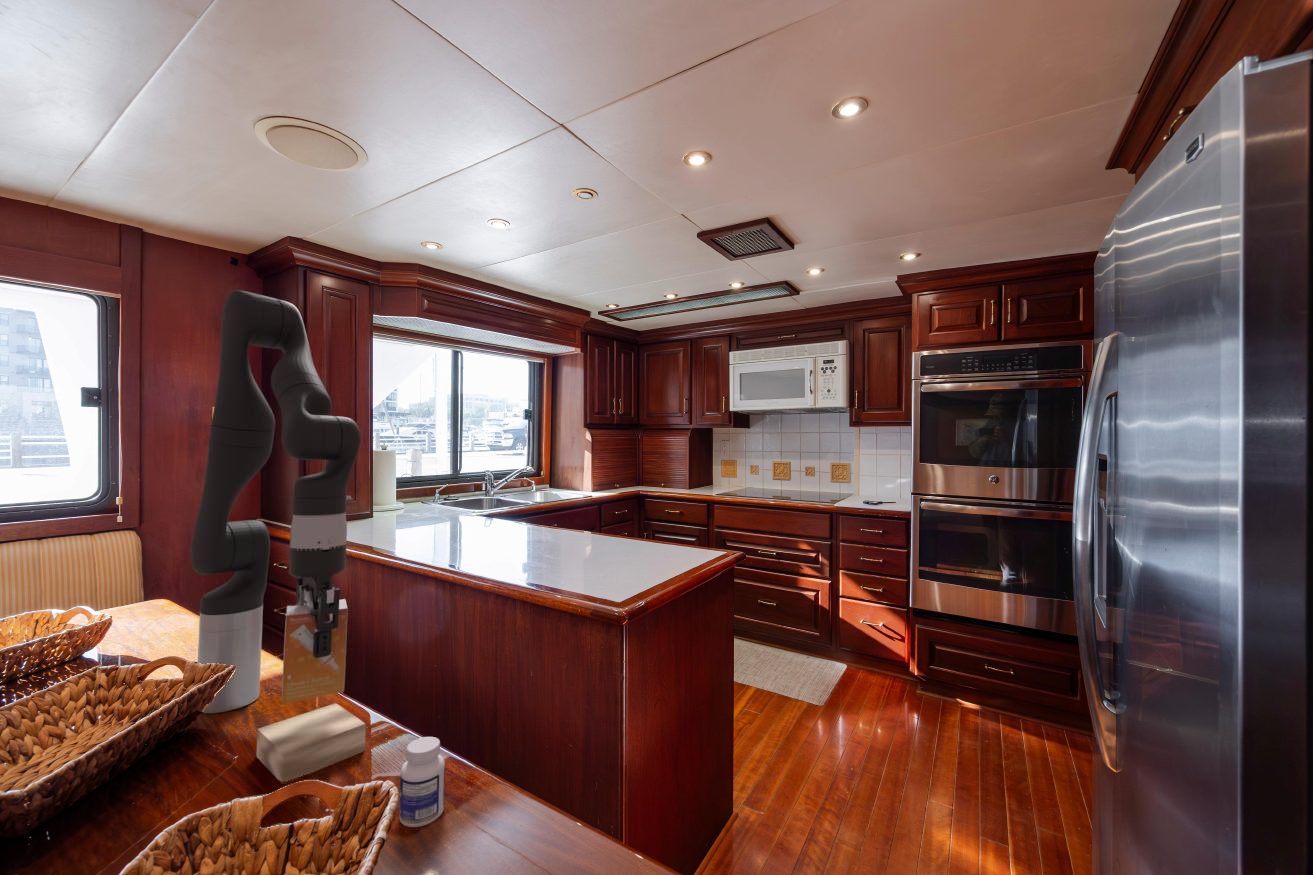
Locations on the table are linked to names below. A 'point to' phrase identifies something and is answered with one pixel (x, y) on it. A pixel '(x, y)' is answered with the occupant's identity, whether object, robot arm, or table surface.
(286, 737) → the birch block
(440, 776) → the pill bottle
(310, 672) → the small box
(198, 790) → the table surface
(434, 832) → the table surface
